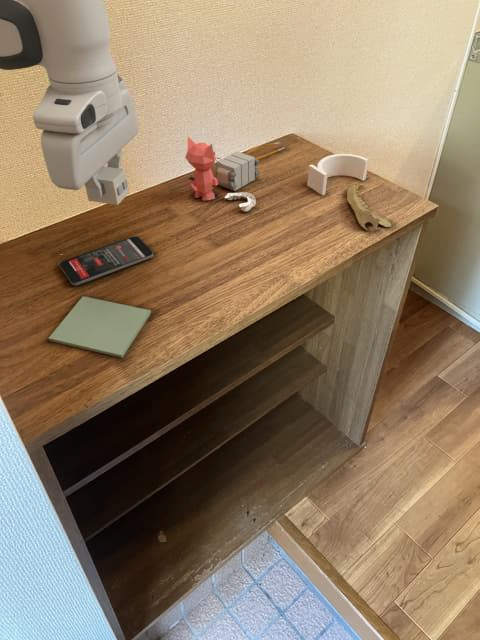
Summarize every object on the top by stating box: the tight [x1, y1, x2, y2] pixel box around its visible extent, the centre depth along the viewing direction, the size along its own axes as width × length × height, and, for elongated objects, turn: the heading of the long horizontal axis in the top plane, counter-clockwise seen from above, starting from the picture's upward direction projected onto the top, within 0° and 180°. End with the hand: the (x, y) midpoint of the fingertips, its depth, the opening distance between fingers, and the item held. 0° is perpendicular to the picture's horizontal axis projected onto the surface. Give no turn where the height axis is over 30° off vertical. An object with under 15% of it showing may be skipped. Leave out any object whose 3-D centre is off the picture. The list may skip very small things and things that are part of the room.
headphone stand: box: [306, 153, 370, 196], centre depth 110 cm, size 5×6×12 cm
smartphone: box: [58, 235, 154, 287], centre depth 91 cm, size 7×1×15 cm
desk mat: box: [48, 295, 152, 359], centre depth 79 cm, size 12×10×1 cm
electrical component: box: [215, 141, 286, 192], centre depth 114 cm, size 24×6×5 cm, turn 140°
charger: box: [84, 165, 130, 206], centre depth 79 cm, size 5×4×4 cm
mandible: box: [346, 183, 392, 232], centre depth 103 cm, size 6×17×3 cm, turn 11°
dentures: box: [224, 191, 257, 213], centre depth 105 cm, size 7×5×2 cm
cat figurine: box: [185, 136, 223, 201], centre depth 103 cm, size 7×7×12 cm
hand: (106, 187), depth 80 cm, fingers closed on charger, 4 cm apart
